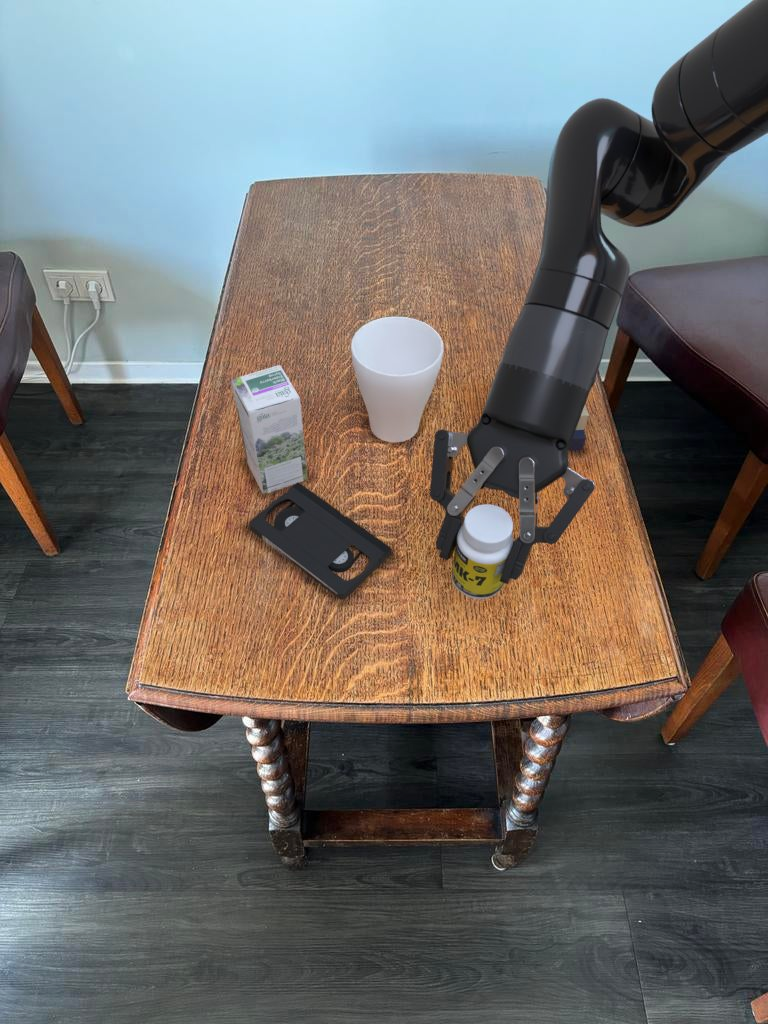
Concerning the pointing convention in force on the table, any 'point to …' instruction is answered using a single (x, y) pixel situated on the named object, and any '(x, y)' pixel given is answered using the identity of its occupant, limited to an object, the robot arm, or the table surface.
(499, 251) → the table surface
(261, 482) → the syrup box
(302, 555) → the vhs tape
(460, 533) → the supplement bottle
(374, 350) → the cup
